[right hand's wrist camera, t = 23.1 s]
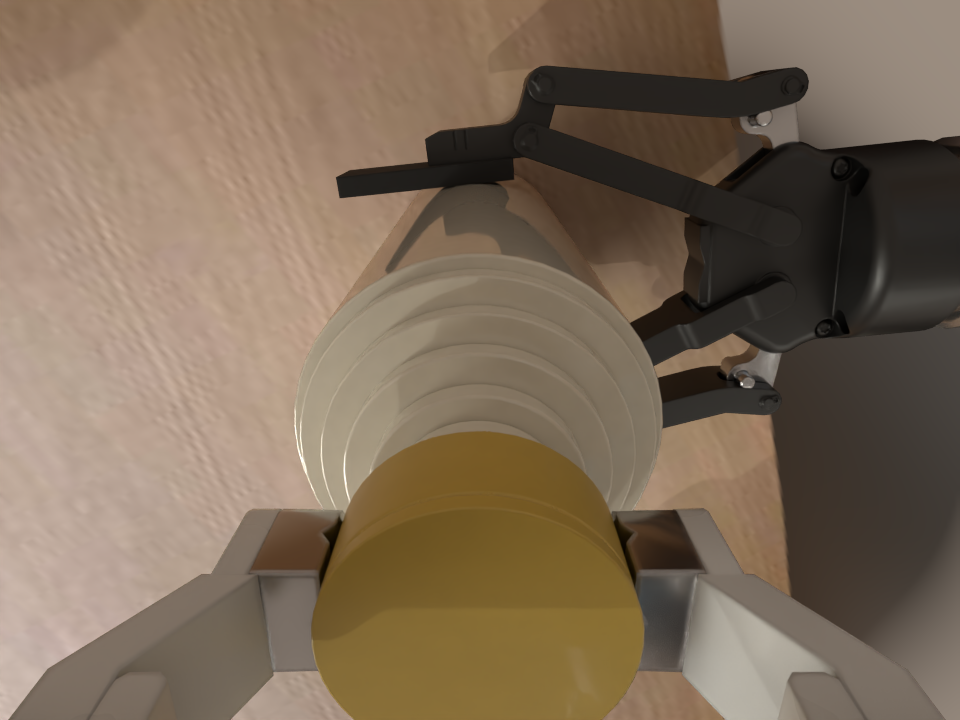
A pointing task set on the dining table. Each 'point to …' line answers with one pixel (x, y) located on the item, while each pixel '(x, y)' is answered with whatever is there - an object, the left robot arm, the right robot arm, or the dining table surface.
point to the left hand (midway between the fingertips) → (364, 292)
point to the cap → (477, 589)
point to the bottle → (478, 349)
